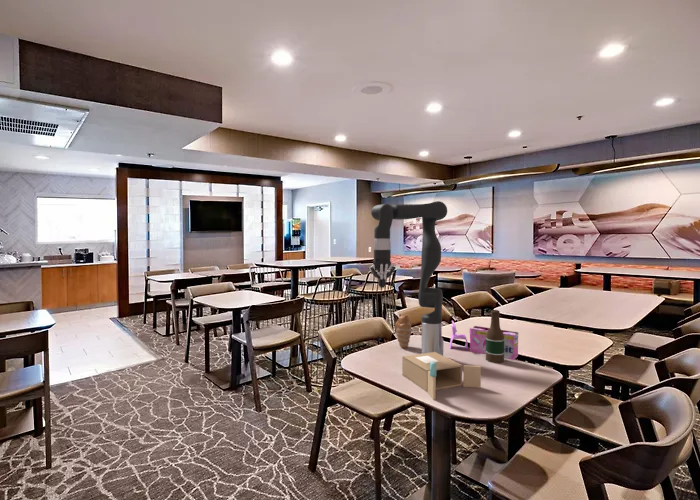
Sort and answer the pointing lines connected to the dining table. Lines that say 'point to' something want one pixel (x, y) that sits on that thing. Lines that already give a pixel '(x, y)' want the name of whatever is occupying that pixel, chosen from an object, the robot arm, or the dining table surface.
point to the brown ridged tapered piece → (403, 330)
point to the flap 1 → (432, 380)
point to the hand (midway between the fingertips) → (382, 287)
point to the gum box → (480, 342)
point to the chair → (457, 335)
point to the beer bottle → (495, 340)
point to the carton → (420, 365)
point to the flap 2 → (472, 376)
